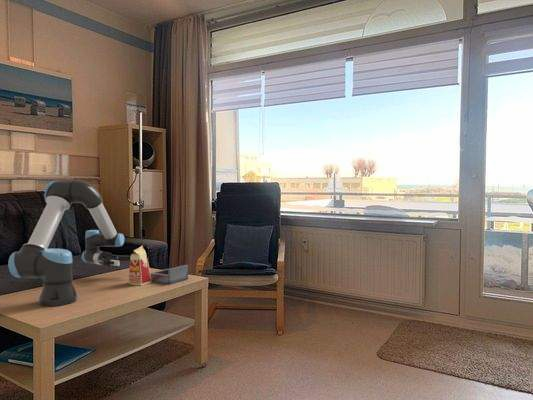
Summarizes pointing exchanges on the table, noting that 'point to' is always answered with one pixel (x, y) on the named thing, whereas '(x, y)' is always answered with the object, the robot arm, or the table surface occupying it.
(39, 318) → the table surface
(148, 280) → the milk carton
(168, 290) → the table surface
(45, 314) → the table surface
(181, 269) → the rack bay
